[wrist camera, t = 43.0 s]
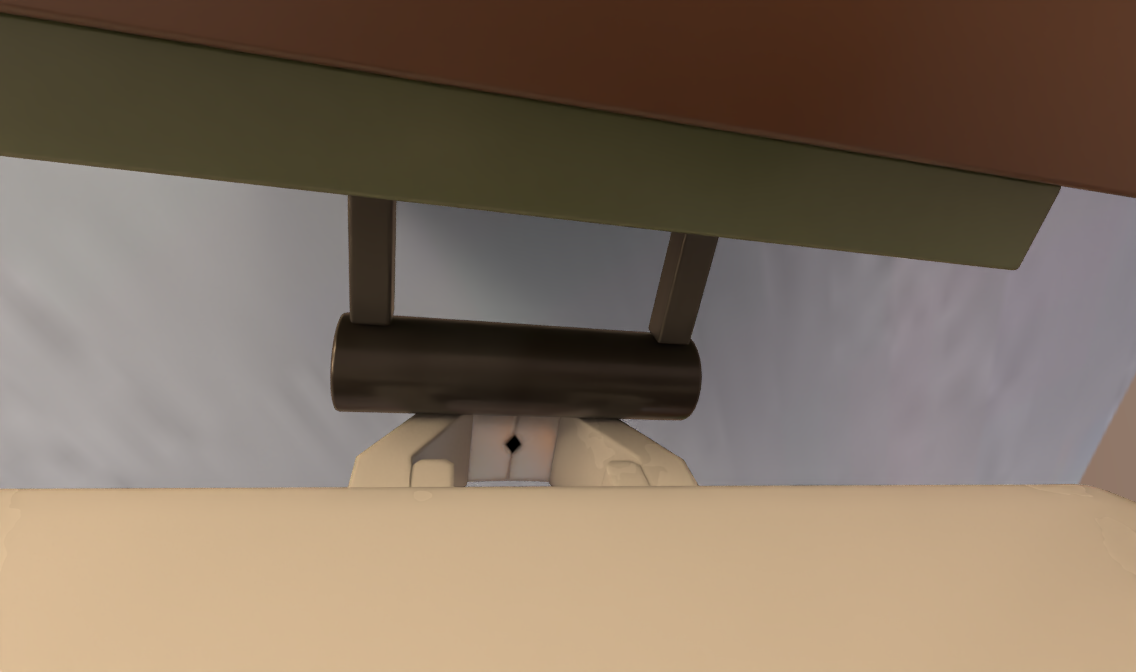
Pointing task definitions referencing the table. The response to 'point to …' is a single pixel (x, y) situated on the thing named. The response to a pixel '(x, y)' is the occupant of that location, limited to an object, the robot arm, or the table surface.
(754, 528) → the robot arm
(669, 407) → the drawer
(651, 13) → the cabinet
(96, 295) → the table surface
